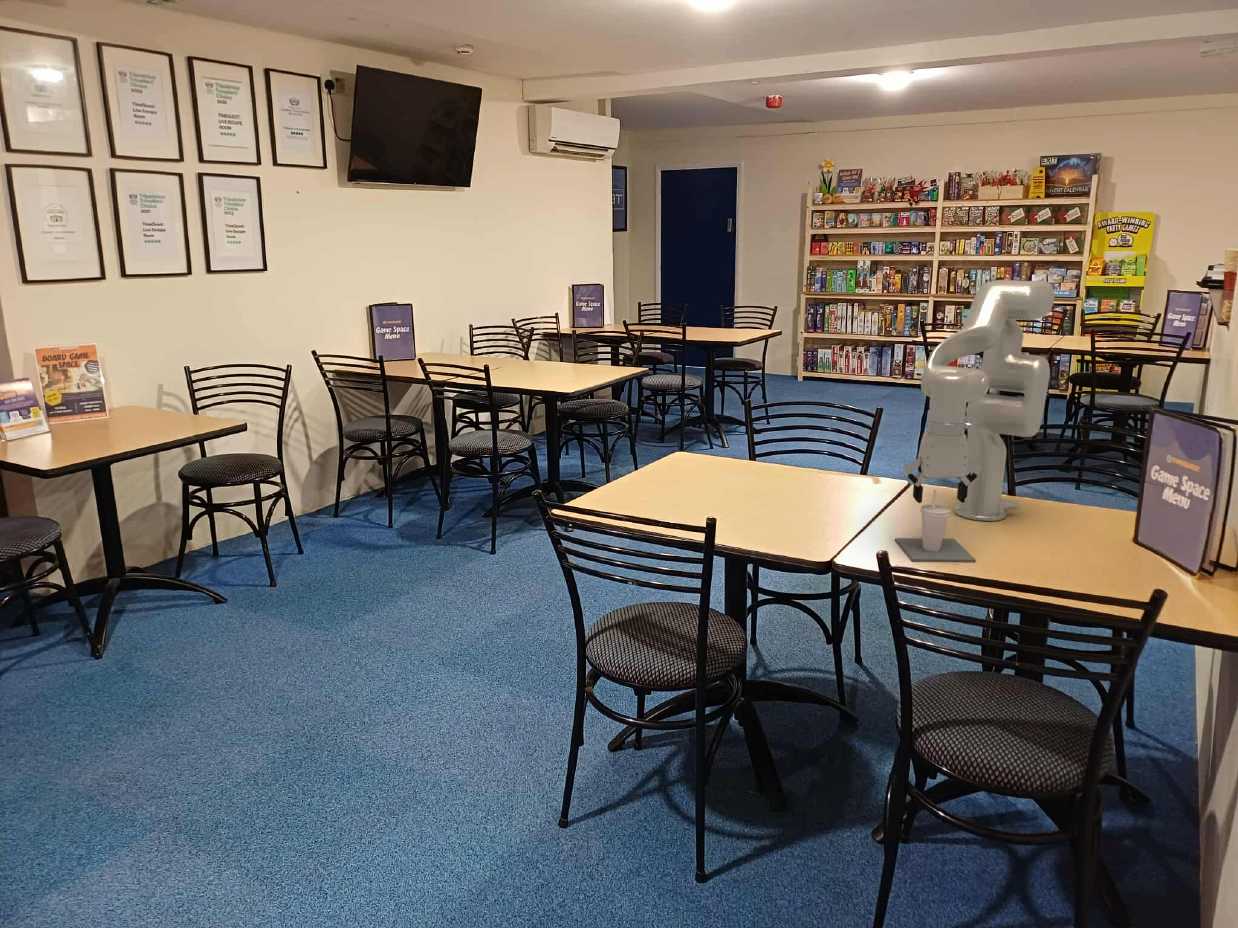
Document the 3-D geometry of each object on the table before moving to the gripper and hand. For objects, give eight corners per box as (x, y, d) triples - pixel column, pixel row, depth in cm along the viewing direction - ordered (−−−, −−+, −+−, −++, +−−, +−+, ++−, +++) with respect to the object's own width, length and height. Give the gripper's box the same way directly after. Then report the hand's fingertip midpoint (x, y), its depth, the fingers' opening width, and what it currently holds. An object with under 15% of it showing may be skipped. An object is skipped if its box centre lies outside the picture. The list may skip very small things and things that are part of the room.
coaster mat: (953, 540, 206) (953, 538, 206) (975, 562, 193) (975, 559, 193) (894, 540, 207) (894, 538, 207) (912, 561, 193) (912, 559, 193)
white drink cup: (912, 544, 203) (917, 486, 199) (938, 543, 203) (944, 486, 200) (924, 553, 196) (929, 494, 193) (951, 552, 197) (957, 494, 193)
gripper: (978, 424, 196) (971, 495, 201) (901, 424, 196) (896, 496, 201) (991, 431, 189) (983, 506, 193) (911, 432, 189) (906, 506, 194)
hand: (939, 501), depth 197 cm, fingers open, 9 cm apart
